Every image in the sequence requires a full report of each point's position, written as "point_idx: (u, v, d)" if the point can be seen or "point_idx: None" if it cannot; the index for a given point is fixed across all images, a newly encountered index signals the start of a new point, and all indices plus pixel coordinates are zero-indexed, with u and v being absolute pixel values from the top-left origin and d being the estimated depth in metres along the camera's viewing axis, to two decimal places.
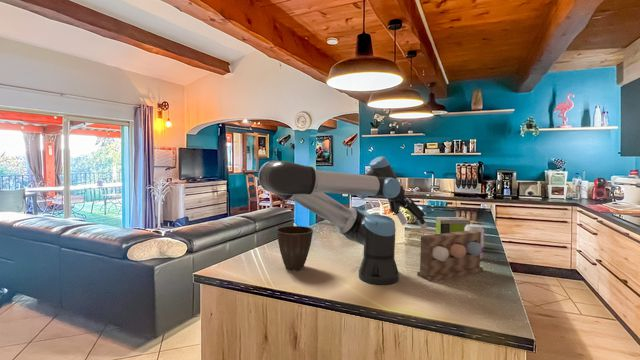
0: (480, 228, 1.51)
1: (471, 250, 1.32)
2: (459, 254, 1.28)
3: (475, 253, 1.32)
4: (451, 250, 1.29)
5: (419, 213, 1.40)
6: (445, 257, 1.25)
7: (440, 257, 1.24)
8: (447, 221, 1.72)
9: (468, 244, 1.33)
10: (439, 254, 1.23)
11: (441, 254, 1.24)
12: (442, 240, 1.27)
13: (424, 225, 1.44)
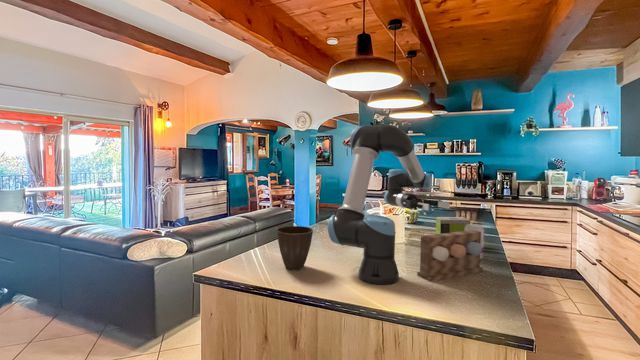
0: (480, 228, 1.51)
1: (471, 250, 1.32)
2: (459, 254, 1.28)
3: (475, 253, 1.32)
4: (451, 250, 1.29)
5: None
6: (445, 257, 1.25)
7: (440, 257, 1.24)
8: (447, 221, 1.72)
9: (468, 244, 1.33)
10: (439, 254, 1.23)
11: (441, 254, 1.24)
12: (442, 240, 1.27)
13: None
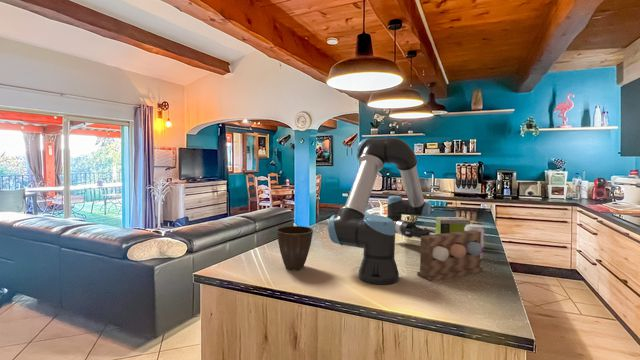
0: (480, 228, 1.51)
1: (471, 250, 1.32)
2: (459, 254, 1.28)
3: (475, 253, 1.32)
4: (451, 250, 1.29)
5: None
6: (445, 257, 1.25)
7: (440, 257, 1.24)
8: (447, 221, 1.72)
9: (468, 244, 1.33)
10: (439, 254, 1.23)
11: (441, 254, 1.24)
12: (442, 240, 1.27)
13: None
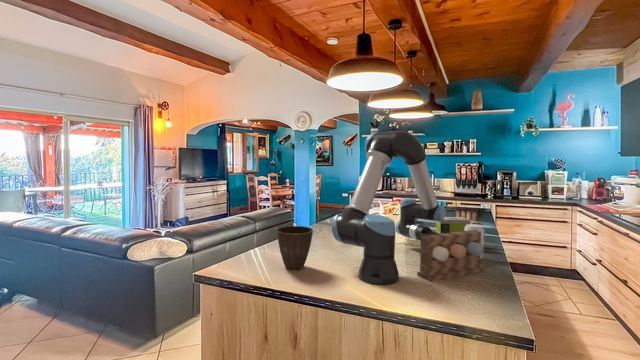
0: (480, 228, 1.51)
1: (472, 250, 1.31)
2: (459, 254, 1.28)
3: (476, 253, 1.31)
4: (451, 250, 1.29)
5: None
6: (445, 257, 1.25)
7: (440, 257, 1.24)
8: (447, 221, 1.72)
9: (469, 245, 1.33)
10: (439, 254, 1.23)
11: (441, 254, 1.24)
12: (442, 240, 1.27)
13: None
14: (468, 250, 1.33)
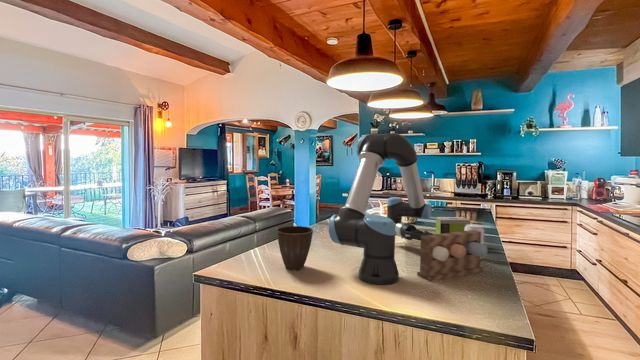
0: (480, 228, 1.51)
1: (476, 252, 1.29)
2: (459, 254, 1.28)
3: (480, 255, 1.29)
4: (451, 250, 1.29)
5: None
6: (445, 257, 1.25)
7: (440, 257, 1.24)
8: (447, 221, 1.72)
9: (473, 246, 1.31)
10: (439, 254, 1.23)
11: (441, 254, 1.24)
12: (442, 240, 1.27)
13: None
14: (472, 251, 1.31)
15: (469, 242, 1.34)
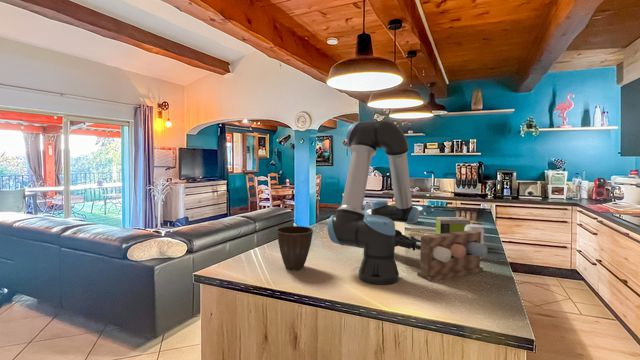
0: (480, 228, 1.51)
1: (476, 252, 1.29)
2: (459, 254, 1.28)
3: (480, 255, 1.29)
4: (451, 250, 1.29)
5: None
6: (448, 258, 1.24)
7: (443, 258, 1.22)
8: (447, 221, 1.72)
9: (473, 246, 1.31)
10: (442, 255, 1.22)
11: (443, 255, 1.23)
12: (442, 240, 1.27)
13: None
14: (472, 251, 1.31)
15: (469, 242, 1.34)
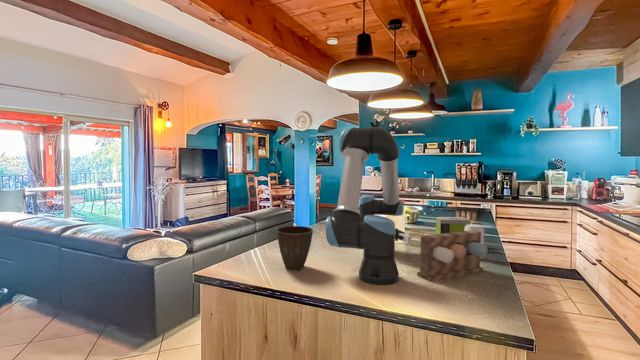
0: (480, 228, 1.51)
1: (476, 252, 1.29)
2: (459, 254, 1.28)
3: (480, 255, 1.29)
4: None
5: None
6: (450, 259, 1.23)
7: (445, 259, 1.21)
8: (447, 221, 1.72)
9: (473, 246, 1.31)
10: (444, 256, 1.21)
11: (446, 256, 1.21)
12: (442, 240, 1.27)
13: None
14: (472, 251, 1.31)
15: (469, 242, 1.34)
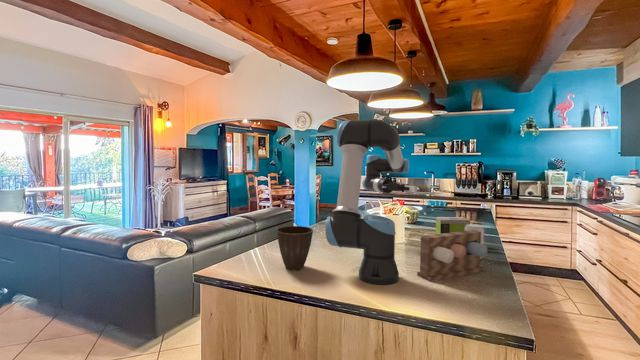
0: (480, 228, 1.51)
1: (476, 252, 1.29)
2: (459, 254, 1.28)
3: (480, 255, 1.29)
4: None
5: None
6: (450, 259, 1.23)
7: (445, 259, 1.21)
8: (447, 221, 1.72)
9: (473, 246, 1.31)
10: (444, 256, 1.21)
11: (446, 256, 1.21)
12: (442, 240, 1.27)
13: None
14: (472, 251, 1.31)
15: (469, 242, 1.34)
